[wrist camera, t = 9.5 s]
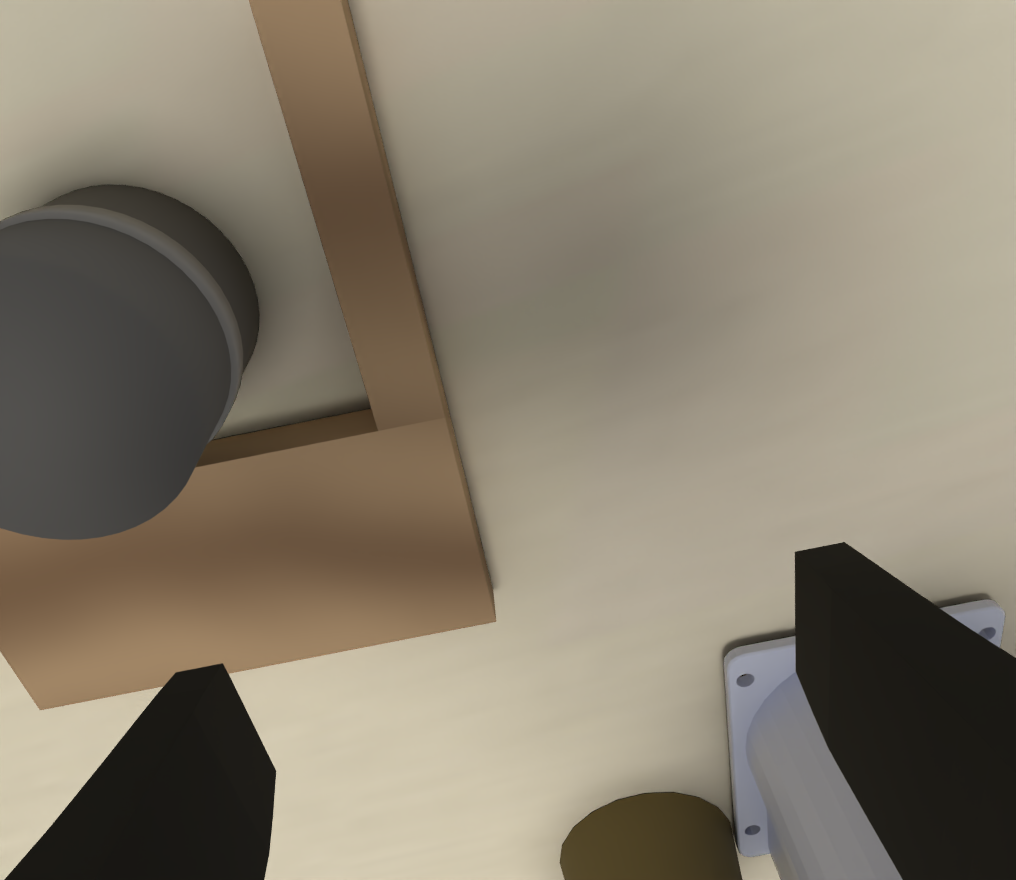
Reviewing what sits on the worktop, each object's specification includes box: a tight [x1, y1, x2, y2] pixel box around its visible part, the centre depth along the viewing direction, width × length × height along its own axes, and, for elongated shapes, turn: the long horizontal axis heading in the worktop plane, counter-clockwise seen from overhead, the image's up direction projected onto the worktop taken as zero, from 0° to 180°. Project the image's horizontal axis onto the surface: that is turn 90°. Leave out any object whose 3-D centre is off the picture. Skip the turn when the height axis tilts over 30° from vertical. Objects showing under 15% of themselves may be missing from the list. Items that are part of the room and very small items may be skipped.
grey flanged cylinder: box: [0, 185, 259, 540], centre depth 15 cm, size 5×5×5 cm
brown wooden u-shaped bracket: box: [0, 0, 496, 710], centre depth 18 cm, size 14×12×1 cm
